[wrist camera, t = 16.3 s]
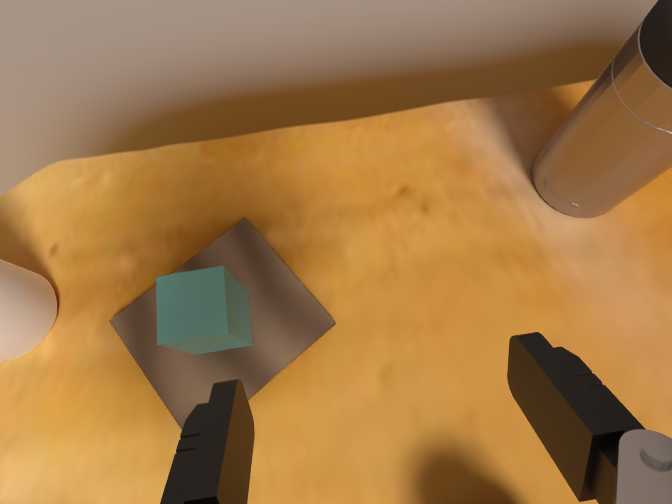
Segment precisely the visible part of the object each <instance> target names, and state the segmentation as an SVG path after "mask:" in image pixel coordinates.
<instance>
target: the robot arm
mask: <svg viewBox="0 0 672 504" xmlns="http://www.w3.org/2000/svg"><path fill="white" fill-rule="evenodd" d="M671 167H672V0H658V2H657V3H656V4H655V5H654V7H653V8H652V9H651V11H650V12H649V13H648V14H647V16H646V17H645V18H644V20H643V21H642V22H641V23H640V25H639V26H638V27H637V29H636V30H635V31H634V32H633V34H632V35H631V36H630V37H629V39H628V40H627V41H626V43H625V44H624V45H623V46H622V48H621V49H620V50H619V52H618V53H617V54H616V56H615V57H614V58H613V59H612V61H611V62H610V63H609V65H608V66H607V67H606V69H605V70H604V71H603V72H602V73H601V75H600V76H599V77H598V79H597V80H596V81H595V82H594V84H593V85H592V86H591V88H590V89H589V90H588V91H587V93H586V94H585V95H584V96H583V98H582V99H581V100H580V102H579V103H578V104H577V105H576V107H575V108H574V109H573V111H572V112H571V113H570V114H569V116H568V117H567V118H566V119H565V121H564V122H563V123H562V125H561V126H560V127H559V128H558V130H557V131H556V132H555V133H554V135H553V136H552V137H551V138H550V140H549V141H548V142H547V144H546V145H545V146H544V147H543V149H542V150H541V151H540V153H539V154H538V155H537V157H536V159H535V161H534V164H533V170H532V175H533V181H534V184H535V187H536V189H537V191H538V192H539V194H540V195H541V197H542V198H543V199H544V200H545V201H546V202H547V203H548V204H549V205H550V206H552V207H553V208H555V209H556V210H558V211H560V212H562V213H564V214H567V215H570V216H574V217H581V218H590V217H596V216H600V215H603V214H605V213H607V212H608V211H610V210H612V209H613V208H614V207H616V206H617V205H619V204H620V203H621V202H623V201H624V200H626V199H627V198H628V197H630V196H631V195H633V194H634V193H636V192H637V191H639V190H640V189H641V188H643V187H644V186H646V185H647V184H649V183H650V182H651V181H653V180H654V179H656V178H657V177H658V176H660V175H661V174H663V173H664V172H665V171H667V170H668V169H670V168H671ZM507 378H508V384H509V388H510V391H511V393H512V395H513V397H514V399H515V400H516V402H517V404H518V405H519V407H520V408H521V410H522V412H523V413H524V415H525V416H526V418H527V419H528V421H529V423H530V424H531V426H532V427H533V429H534V431H535V432H536V434H537V435H538V437H539V439H540V440H541V442H542V443H543V445H544V446H545V448H546V450H547V451H548V453H549V454H550V456H551V458H552V459H553V461H554V462H555V464H556V466H557V467H558V469H559V470H560V472H561V474H562V475H563V477H564V478H565V480H566V481H567V483H568V485H569V486H570V488H571V489H572V491H573V493H574V494H575V496H576V497H577V499H578V501H579V502H581V501H587V500H593V499H596V500H597V502H598V503H599V504H672V439H671V438H670V437H668V436H666V435H663V434H661V433H658V432H655V431H651V430H646V429H645V428H644V427H643V426H642V425H641V424H640V423H639V422H638V420H637V419H636V418H635V417H634V416H633V415H632V414H631V413H630V412H629V411H628V410H627V409H626V408H625V406H624V405H623V404H622V403H621V402H620V401H619V400H618V399H617V398H616V397H615V396H614V395H613V393H612V392H611V391H610V390H609V389H608V388H607V387H606V386H605V385H603V384H602V382H601V380H600V379H599V378H598V377H597V376H596V375H595V374H592V371H591V370H590V369H589V368H588V366H587V365H586V364H585V363H584V362H583V361H582V360H581V359H580V358H579V357H578V356H576V355H574V354H573V353H571V352H569V351H568V350H566V349H564V348H563V347H555V348H553V347H552V346H551V344H550V343H549V342H548V341H547V340H546V339H545V338H544V336H543V335H542V334H540V333H539V332H534V333H528V334H522V335H515V336H512V337H511V338H510V343H509V358H508V372H507ZM180 437H181V439H180V440H179V443H178V446H177V449H176V454H175V456H174V459H173V463H172V466H171V469H170V473H169V476H168V479H167V483H166V486H165V489H164V492H163V496H162V499H161V502H160V504H247V500H248V491H249V481H250V472H251V463H252V454H253V445H254V421H253V416H252V413H251V409H250V406H249V403H248V399H247V396H246V393H245V389H244V386H243V383H242V381H241V379H235V380H229V381H223V382H217V383H214V384H213V386H212V390H211V394H210V398H209V402H208V403H202V404H197V405H196V406H195V408H194V409H193V410H192V412H191V413H190V414H189V416H188V417H187V418H186V420H185V423H184V426H183V430H182V433H181V436H180Z"/></svg>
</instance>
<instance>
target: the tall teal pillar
mask: <svg viewBox="0 0 672 504" xmlns="http://www.w3.org/2000/svg"><path fill="white" fill-rule="evenodd" d="M156 302H157V345H160V346H164V347H168V348H172V349H176V350H180V351H183V352H187V353H191V354H195V355H197V354H203V353H209V352H215V351H221V350H227V349H233V348H239V347H245V346H251V345H252V334H251V324H250V313H249V302H248V291H247V289H246V288H245V287H244V286H243V285H242V284H241V283H240V282H239V281H238V280H237V279H236V278H235V277H234V276H233V275H232V274H231V273H230V272H229V271H228V270H227V269H226V268H225V267H224V266H218V267H212V268H206V269H200V270H194V271H187V272H181V273H175V274H169V275H163V276H157V277H156Z"/></svg>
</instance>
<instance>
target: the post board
mask: <svg viewBox="0 0 672 504" xmlns="http://www.w3.org/2000/svg"><path fill="white" fill-rule="evenodd" d="M218 266H224V267H225V268H226V269H227V270H228V271H229V272H230V273H231V274H232V275H233V276H234V277H235V278H236V279H237V280H238V281H239V282H240V283H241V284H242V285H243V286H244V287H245V288H246V289H247V291H248V302H249V313H250V324H251V334H252V345H251V346H245V347H239V348H233V349H227V350H221V351H215V352H209V353H203V354H197V355H195V354H191V353H187V352H183V351H180V350H176V349H172V348H168V347H164V346H160V345H157V302H156V286H154V287H153V288H152V289H150V290H149V291H148V292H147V293H145V294H144V295H143V296H141V297H140V298H139V299H137V300H136V301H135V302H133V303H132V304H131V305H129V306H128V307H127V308H126V309H124V310H123V311H122V312H120V313H119V314H118V315H116V316H115V317H114V318H112V319H111V320H110V321H109V322H110V324H111V325H112V326H113V328H114V329H115V331H116V332H117V334H118V335H119V337H120V338H121V340H122V341H123V343H124V344H125V346H126V347H127V349H128V350H129V352H130V353H131V355H132V356H133V358H134V359H135V361H136V362H137V364H138V365H139V367H140V368H141V370H142V371H143V373H144V374H145V376H146V377H147V379H148V380H149V381H150V383H151V384H152V386H153V387H154V389H155V390H156V392H157V393H158V395H159V396H160V398H161V399H162V401H163V402H164V404H165V405H166V407H167V408H168V410H169V411H170V413H171V414H172V416H173V417H174V419H175V420H176V422H177V423H178V425H179V426H180V428H181V429H182V430H183V426H184V423H185V420H186V418H187V417H188V416H189V414H190V413H191V412H192V410H193V409H194V408H195V406H196V405H197V404H202V403H208V402H209V398H210V394H211V390H212V386H213V384H214V383H217V382H223V381H229V380H235V379H241V381H242V383H243V386H244V389H245V393H246V396H247V399H248V400H249V399H250V398H251V397H252V396H253V395H255V394H256V393H257V392H258V391H259V390H260V389H261V388H263V387H264V386H265V385H266V384H267V383H268V382H270V381H271V380H272V379H273V378H274V377H275V376H276V375H278V374H279V373H280V372H281V371H282V370H283V369H284V368H286V367H287V366H288V365H289V364H290V363H291V362H293V361H294V360H295V359H296V358H297V357H298V356H299V355H301V354H302V353H303V352H304V351H305V350H306V349H308V348H309V347H310V346H311V345H312V344H313V343H314V342H316V341H317V340H318V339H319V338H320V337H321V336H323V335H324V334H325V333H326V332H327V331H328V330H329V329H331V328H332V327H333V326H334V325H335V324H336V322H335V321H334V320H333V319H332V317H331V316H330V315H329V314H328V313H327V312H326V310H325V309H324V308H323V307H322V306H321V305H320V303H319V302H318V301H317V300H316V299H315V298H314V297H313V295H312V294H311V293H310V292H309V291H308V290H307V288H306V287H305V286H304V285H303V284H302V283H301V281H300V280H299V279H298V278H297V277H296V276H295V274H294V273H293V272H292V271H291V270H290V269H289V268H288V266H287V265H286V264H285V263H284V262H283V261H282V259H281V258H280V257H279V256H278V255H277V254H276V252H275V251H274V250H273V249H272V248H271V247H270V246H269V244H268V243H267V242H266V241H265V240H264V239H263V237H262V236H261V235H260V234H259V233H258V232H257V230H256V229H255V228H254V227H253V226H252V225H251V223H250V222H249V221H248V220H247V219H246V218H244V219H242V220H241V221H240V222H238V223H237V224H236V225H234V226H233V227H232V228H231V229H229V230H228V231H227V232H225V233H224V234H223V235H221V236H220V237H219V238H217V239H216V240H215V241H213V242H212V243H211V244H210V245H208V246H207V247H206V248H204V249H203V250H202V251H200V252H199V253H198V254H196V255H195V256H194V257H192V258H191V259H190V260H189V261H187V262H186V263H185V264H183V265H182V266H181V267H179V268H178V269H177V270H175V271H174V272H173V273H171V274H175V273H181V272H187V271H194V270H200V269H206V268H212V267H218Z"/></svg>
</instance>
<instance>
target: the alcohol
mask: <svg viewBox="0 0 672 504" xmlns="http://www.w3.org/2000/svg"><path fill="white" fill-rule="evenodd" d="M56 315H57V300H56V296H55V292H54V289H53V288H52V286H51V284H50V283H49V282H48V281H47V279H46V278H44V277H43V276H41V275H40V274H37V273H35V272H32V271H30V270H27V269H25V268H22V267H19V266H17V265H14V264H12V263H9V262H7V261H4V260H1V259H0V362H2V361H9V360H13V359H16V358H18V357H20V356H23V355H25V354H26V353H28V352H29V351H31V350H32V349H34V348H35V347H36V346H37V345H39V344H40V343H41V342H42V341H43V340H44V339H45V337H46V336H47V335H48V334H49V332H50V330H51V329H52V327H53V325H54V322H55V319H56Z"/></svg>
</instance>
